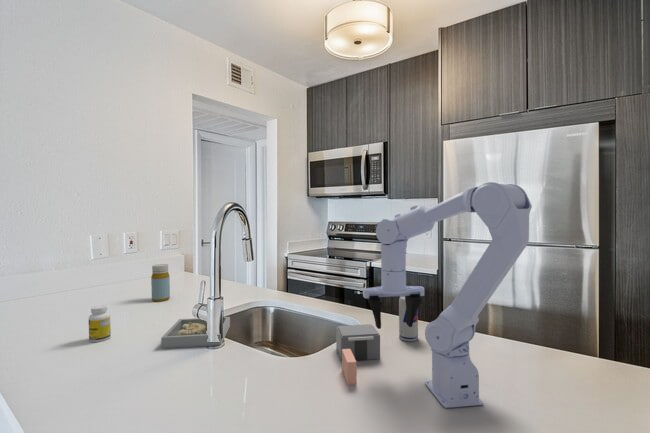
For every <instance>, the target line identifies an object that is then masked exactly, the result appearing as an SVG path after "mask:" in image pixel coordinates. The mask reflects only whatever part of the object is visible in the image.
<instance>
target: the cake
mask: <svg viewBox="0 0 650 433" xmlns="http://www.w3.org/2000/svg"><path fill="white" fill-rule="evenodd" d="M181 327H182V330H181V331H179V332H178V333H177V335H176V336H180V335H199V334H208V333H207V328H206V326H205V325H203V324H199V323H192V322H190V323H189V324H184V325H183V326H181Z"/></svg>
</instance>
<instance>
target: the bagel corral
mask: <svg viewBox="0 0 650 433" xmlns="http://www.w3.org/2000/svg"><path fill="white" fill-rule="evenodd" d="M223 317H224V323H223V338H222V340H221V334H218V335H217V336H218V339H219V341H220V342H207V339H208V335H207V334H208V333H207V334H199V335H180V336H177V333H178V332H179V331H181V330H182V327H181V326H183V325H184V324H189V323H190V322H192V323H199V324H203V325H205V326H206V329H208V328H207V324H206V321H204V320H201V319H199V318H197V317H195V318H180V319H178V320H177V321H176V322H175V323H174V324H173V325H172V326H171V327H170V328H169V329H168V330H167V331H166V332H165V333H164V334H163V335H162V336H161V342H160V343H161V344H160V346H161V349H177V348H194V347H209V346H210V347H212V346H214V347H215V346H222V344H223V342H224V339H225V338H226V335H227V333H228V330H230V329H229V328H230V327H231V317H230V316H223Z"/></svg>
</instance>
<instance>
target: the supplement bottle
mask: <svg viewBox="0 0 650 433" xmlns="http://www.w3.org/2000/svg"><path fill="white" fill-rule="evenodd" d="M90 312H91V314H89V315H88V340H89V341H90V342H91V343H100V342H104V341H107V340H109V339H110V338H111V337H112V336H111V333H112V332H111V330H112V329H111V314H110V312H109V311H108V305H106V304H99V305H95V306H91V308H90Z"/></svg>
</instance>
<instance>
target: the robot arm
mask: <svg viewBox="0 0 650 433" xmlns="http://www.w3.org/2000/svg"><path fill="white" fill-rule="evenodd" d="M532 208H533V206H532V203H531V201H530V198H529V197H528V194H527V191H525V190H524V189H523V188H522V186H520V185H518V184H514V183H513V184H512V183H507V184H504V183H498V182H492V181H488V182H485V183H482V184H480V185H478V186H473V187H470V188H467V189H465V190H464V191H462V192H460V193H458V194H455V195H454V196H452V197H450V198H447V199H445V200H443V201H441V202H439V203H437V204H435V205H433V206H431V207H429V208H427V207H425V206H422V205H421V206H418V205H413V206H411V207H410V210H408V211H406V212H404V213H402V214H401V213H398V214H395V215H394V217H393V219H389V218H383V219H381V221H379V222H378V224H377V225H376V228H375V236H376V239H377V240H378V241H379V242H380V253H381V254H380V256H381V257H380V258H381V259H380V261H381V262H380V263H381V264H380V267H381V269H380V270H381V273H380V274H381V275H380V276H381V279H380V280H381V285H380V286H375V287H374V286H373V287H365V288H362V297H363V298H364V299H366V300H367V302H368V305H369V306H370V309H371V312H372V315H373V319H374V323H375V327H376V329H381V328H382V317H381V316H382V315H381V314H382V311H381V310H382V303H383V302H382V301H381V299H380V298H385V297H386V298H387V297H388V298H389V297H400V296H405V301H406V324H407V325H408V326H409V327H412V325H413V321H414V317H415V314H416V311H417V309H418V310H419V307H420V305H421V304H422V302H423V298H422V297H425V287H424V286H421V285H407V270H406V268H407V266H406V265H407V262H406V261H407V260H406V258H407V256H406V254H407V253H406V251H407V245H408V241H409V240H410V239H412V238H415V237H416V236H420V235H422V234H426V233H427V232H431V230H433V228H434V226H435V224H436V223H437V222H438V223H439V222H441V221H443V220H446V219H449V218H451V217H452V218H453V217H454V216H457V215H460V214H463V213H476V215H477V216H478V217H479V218H480V219H481V222H483V223H484V225H485V226H486V227H487V229H488V231H489V233H490V234H489V235H490V236H491V242H490V243H489V245H488V246H487V247H486V249H485V251H484V252H483V253H482V255H481V257H480V258H479V260H478V262H477V263H476V265H475V266H474V268H473V269H472V271H471V272H470V274H469V276H468V277H467V278H466V280H465V282H464V284H463V285H462V286H461V288H460V290H458V291H459V292H458V293H457V295H456V296H455V297H454V299H453V300H452V302H451V303H450V305H449V306H447V307H446V308H445V309H444V310H443V311H441V313H440V314H439V315H438V317H437V318H436V319H435V320H433V321H430V322H429V323H428V324H427V325H426V326H425V329H424V336H425V340H426V343H427V345H428V346H429V347H430V351H431V371H432V372H431V376H432V377H431V378H432V379H429V380H425V381H424V384H425V386H426V387H427V388H428V389H429V390H430V392H431V393H432V394H433V396H434V397H435V398H436V400H438V401H439V403H440V404H441V405H442V407H444V408H446V409H448V408H449V409H451V408H458V407H459V408H460V407H461V408H463V407H473V406H474V407H475V406H482V405H484V401H483V400H482V399H481V398H480V390H479V389H480V375H479V371H478V368H477V367H476V365H475V364H474V363H473V362H472V360H471V356H470V341H472V340H473V338H474V337H475V334H476V326H477V324H478V323H479V321H480V318H479V314H481V313H482V311H483V309H484V307H485V306H486V305H487V303H488V302H489V300H490V299H491V297H493V295H494V294H495V293H496V290H497V289H498V287H499V286H500V285H501V284H502V281H503V280H504V279H505V277H506V276H507V275H508V273H509V271H511V269H512V268H513V266H514V265H515V263H516V262H517V260H518V258H520V256H521V254H522V253H523V252H524V250H525V249H526V248H527V246H528V243H529V242H530V213H531V211H532Z"/></svg>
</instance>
